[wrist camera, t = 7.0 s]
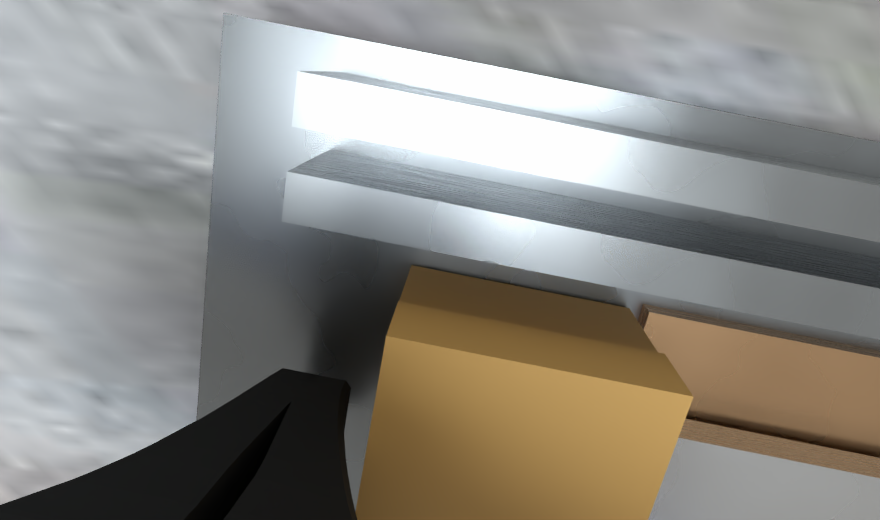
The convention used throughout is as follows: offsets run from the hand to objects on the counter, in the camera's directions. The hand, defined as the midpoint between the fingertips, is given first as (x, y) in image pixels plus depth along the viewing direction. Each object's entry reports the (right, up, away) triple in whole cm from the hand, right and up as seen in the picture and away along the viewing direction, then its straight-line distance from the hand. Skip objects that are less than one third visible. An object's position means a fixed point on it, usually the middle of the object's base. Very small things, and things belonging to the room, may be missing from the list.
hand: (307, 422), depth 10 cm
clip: (+3, 0, +1) cm, 3 cm away
